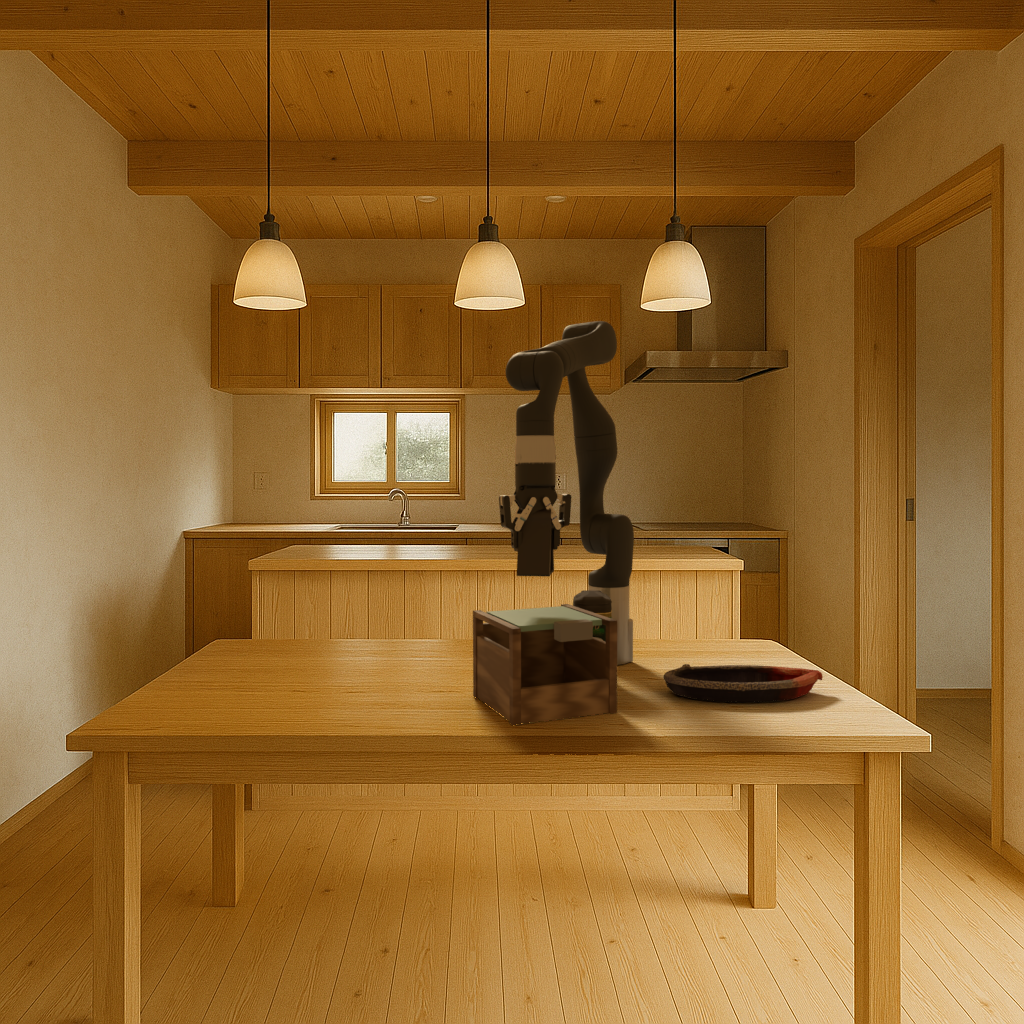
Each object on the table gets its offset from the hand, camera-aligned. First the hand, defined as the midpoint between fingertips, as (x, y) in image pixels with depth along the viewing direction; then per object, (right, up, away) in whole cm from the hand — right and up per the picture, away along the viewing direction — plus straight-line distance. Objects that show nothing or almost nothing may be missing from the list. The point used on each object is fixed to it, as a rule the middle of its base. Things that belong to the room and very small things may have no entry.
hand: (535, 550), depth 156 cm
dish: (+40, -28, +5) cm, 49 cm away
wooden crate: (+1, -28, -2) cm, 28 cm away
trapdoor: (+2, -14, -5) cm, 15 cm away
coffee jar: (+12, -28, +15) cm, 34 cm away
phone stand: (0, -5, 0) cm, 5 cm away
